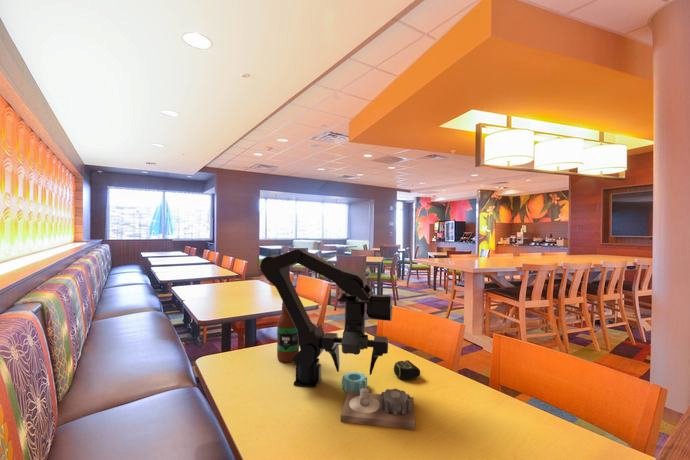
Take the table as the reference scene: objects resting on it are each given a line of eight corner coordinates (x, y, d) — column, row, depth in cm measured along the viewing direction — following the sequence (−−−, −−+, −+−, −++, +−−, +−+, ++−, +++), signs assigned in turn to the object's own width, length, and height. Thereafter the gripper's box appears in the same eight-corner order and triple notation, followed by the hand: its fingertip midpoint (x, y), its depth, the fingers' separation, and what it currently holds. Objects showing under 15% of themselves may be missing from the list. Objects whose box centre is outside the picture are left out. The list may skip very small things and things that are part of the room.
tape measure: (421, 380, 95) (421, 367, 95) (400, 383, 93) (400, 370, 93) (409, 370, 102) (409, 358, 102) (390, 373, 100) (390, 361, 100)
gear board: (340, 421, 75) (340, 400, 75) (348, 396, 86) (348, 377, 85) (415, 430, 72) (415, 408, 72) (413, 403, 83) (413, 383, 83)
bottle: (273, 361, 107) (273, 286, 106) (282, 353, 114) (282, 282, 113) (294, 364, 105) (294, 288, 105) (301, 355, 112) (302, 284, 112)
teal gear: (340, 392, 87) (340, 381, 87) (344, 380, 94) (344, 370, 94) (365, 395, 86) (365, 384, 86) (367, 382, 93) (368, 372, 93)
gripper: (315, 324, 84) (314, 383, 84) (387, 329, 80) (386, 390, 81) (325, 312, 95) (324, 365, 95) (388, 316, 91) (388, 370, 92)
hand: (354, 372), depth 90 cm, fingers open, 9 cm apart
